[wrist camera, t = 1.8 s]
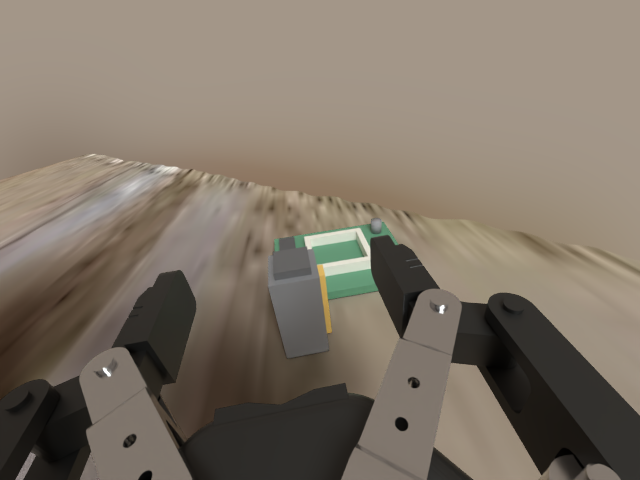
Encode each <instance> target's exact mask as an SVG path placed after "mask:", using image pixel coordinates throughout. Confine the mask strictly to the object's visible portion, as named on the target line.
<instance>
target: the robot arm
mask: <svg viewBox="0 0 640 480" xmlns="http://www.w3.org/2000/svg"><path fill="white" fill-rule="evenodd" d="M370 262H371V273H372V277H373V280H374V282H375V284H376V286H377V288H378V291H379V293H380V295H381V297H382V299H383V302H384V304H385V306H386V308H387V310H388V312H389V315H390V317H391V319H392V321H393V323H394V326H395V328H396V330H397V332H398V334H399V336H400V338H399V340H398V342H397V344H396V347H395V349H394V352H393V355H392V357H391V360H390V362H389V365H388V368H387V370H386V373H385V375H384V378H383V381H382V383H381V386H380V388H379V391H378V394H377V396H376V399H375V400H373V399H371V398H369V397H366V396H363V395H359V394H354V393H347V389H346V384H345V383H343V384H338V385H333V386H328V387H323V388H318V389H314V390H312V391H309V392H307V393H305V394H303V395H301V396H299V397H297V398H295V399H293V400H291V401H289V402H287V403H284V404H281V405H275V404H260V403H244V404H239V405H234V406H229V407H224V408H219V409H215V415H214V421H213V422H211V423H209V424H207V425H206V426H204V427H202V428H201V429H200V430H198V431H197V432H196V433H194V434H193V435H192V436H191V437H190V438H189V439H188V440H187V439H186V437H185V435H184V434H183V432H182V431H181V429H180V427H179V425H178V423H177V422H176V420H175V418H174V416H173V415H172V413H171V411H170V409H169V408H168V406H167V404H166V402H165V400H164V399H163V397H162V396H161V394H160V391H161V388H162V385H165V384H170V383H175V382H176V378H177V375H178V371H179V368H180V364H181V361H182V357H183V354H184V351H185V347H186V344H187V340H188V337H189V333H190V330H191V326H192V323H193V319H194V316H195V312H196V301H195V297H194V295H193V293H192V291H191V288H190V286H189V284H188V282H187V280H186V278H185V276H184V274H183V272H182V271H181V270H177V271H171V272H166V273H161V274H159V276H158V278H157V280H156V282H155V284H154V286H153V287H150V288H148V289H147V290H146V291H145V292H144V293H143V294H142V295H141V296H140V297H139V298H138V300H137V301H136V303H135V305H134V307H133V310H132V311H131V313H130V314H129V318H127V320H126V322H125V324H124V326H123V327H122V329H121V331H120V333H119V335H118V337H117V339H116V340H115V342H114V344H113V346H112V348H111V349H108V350H106V351H104V352H102V353H100V354H98V355H97V356H95V357H94V358H93V359H92V360H91V361H90V362H88V364H87V365H86V366H85V367H84V368H83V370H82V372H81V374H80V376H77V377H75V378H73V379H70V380H68V381H66V382H63V383H61V384H59V385H57V386H54V387H53V386H51V385H50V384H49V383H48V382H47V381H46V380H42V379H38V380H33V381H30V382H27V383H25V384H23V385H21V386H19V387H17V388H15V389H14V390H12V391H11V392H10V393H8V394H7V395H6V396H5V397H3V398H2V399H1V400H0V480H15V479H16V477H17V475H18V474H19V472H20V470H21V468H22V466H23V465H24V463H25V461H26V459H27V457H28V455H29V454H30V452H32V453H34V454H35V455H36V457H35V459H34V461H33V463H32V465H31V467H30V468H29V470H28V472H27V474H26V476H25V478H24V480H80V477H81V475H82V472H83V470H84V467H85V465H86V462H87V460H88V457H89V455H90V452H92V456H93V460H94V463H95V467H96V470H97V474H98V477H99V480H473V479H472V478H471V477H469V476H468V475H467V474H466V473H464V472H463V471H462V470H461V469H460V468H458V467H457V466H456V465H455V464H454V463H452V462H451V461H450V460H449V459H448V458H446V457H445V456H444V455H443V454H442V453H440V452H439V451H438V450H437V449H436V448H434V442H435V437H436V432H437V428H438V423H439V418H440V413H441V408H442V403H443V398H444V394H445V389H446V384H447V379H448V374H449V369H450V364H451V363H459V364H468V365H477V367H478V368H479V370H480V372H481V374H482V375H483V377H484V379H485V380H486V382H487V384H488V385H489V387H490V389H491V390H492V392H493V394H494V396H495V397H496V399H497V401H498V402H499V404H500V406H501V407H502V409H503V411H504V413H505V414H506V416H507V418H508V419H509V421H510V423H511V424H512V426H513V428H514V429H515V431H516V433H517V435H518V436H519V438H520V440H521V441H522V443H523V445H524V446H525V448H526V450H527V451H528V453H529V455H530V457H531V458H532V460H533V462H534V463H535V465H536V467H537V468H538V470H539V472H540V474H541V475H542V476H541V477H540V478H539V480H640V415H639V414H638V413H637V412H636V411H635V410H634V409H633V408H632V407H631V406H630V405H629V404H628V403H627V402H626V401H625V400H624V399H623V398H622V397H621V396H620V395H619V393H618V392H617V391H616V390H615V389H614V388H613V387H612V386H611V385H610V384H609V383H608V382H607V381H606V380H605V379H604V378H603V377H602V376H601V375H600V374H599V373H598V372H597V370H596V369H595V368H594V367H593V366H592V365H591V364H590V363H589V362H588V361H587V360H586V359H585V358H584V357H583V356H582V355H581V354H580V353H579V352H578V351H577V350H576V348H575V347H574V346H573V345H572V344H571V343H570V342H569V341H568V340H567V339H566V338H565V337H564V336H563V335H562V334H561V333H560V332H559V331H558V330H557V329H556V328H555V327H554V325H553V324H552V323H551V322H550V321H549V320H548V319H547V318H546V317H545V316H544V315H543V314H542V313H541V312H540V311H539V310H538V309H537V308H536V307H535V306H534V305H533V304H532V303H531V302H530V301H528V300H527V299H525V298H523V297H521V296H519V295H516V294H511V293H497V294H494V295H492V296H491V297H490V298H489V300H488V303H487V304H481V303H467V302H461V301H460V300H459V299H458V298H457V297H456V296H455V295H454V294H452V293H450V292H448V291H445V290H442V289H440V288H439V287H438V285H437V284H436V282H435V281H434V280H433V278H432V277H431V276H430V274H429V273H428V271H427V270H426V269H425V267H424V266H422V263H421V262H420V260H419V259H418V258H417V256H416V255H415V253H414V252H413V251H412V250H411V249H410V248H408V247H406V246H405V245H403V244H399V245H395V244H394V242H393V241H392V239H391V237H390V236H389V235H384V236H378V237H372V238H371V239H370Z"/></svg>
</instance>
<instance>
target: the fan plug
mask: <svg viewBox="0 0 640 480" xmlns="http://www.w3.org/2000/svg"><path fill="white" fill-rule="evenodd" d="M268 288H269V292H270V296H271V300H272V303H273V307H274V311H275V315H276V318H277V322H278V326H279V330H280V334H281V337H282V341H283V345H284V349H285V352H286V356H287V358H293V357H298V356H303V355H309V354H314V353H319V352H325V351H329V345H328V338H327V333H332V330H331V321H330V313H329V304H328V296H327V287H326V279H325V273H324V269H323V264H322V265H317V263H316V259H315V254H314V250H313V249H308V250H307V246H306V247H300V248H294V249H287V250H281V251H275V252H273V255H271V256H268Z"/></svg>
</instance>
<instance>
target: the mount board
mask: <svg viewBox="0 0 640 480" xmlns="http://www.w3.org/2000/svg"><path fill="white" fill-rule="evenodd" d="M384 235H389V236H390V237H391V239H392V241H393V242H394V244H395V245H398V243H397V242H396V240H395V239H394V237H393V236H392V234H391V232H390V231H389V229H388V228H387V226H386V225H385V223H384V222H382V220H381V219H380V218H373V219H371V224H367V225H361V226H354V227H348V228H342V229H336V230H330V231H323V232H317V233H311V234H305V235H299V236H292V237H286V238H280V239H275V251H281V250H287V249H294V248H300V247H306V246H307V250H308V249H313V250H314V254H315V259H316V263H317V265H322V264H323V269H324V273H325V279H326V287H327V296H328V299H334V298H340V297H345V296H351V295H357V294H362V293H368V292H374V291H378V288H377V286H376V284H375V282H374V280H373V277H372V273H371V262H370V239H371V238H372V237H378V236H384Z"/></svg>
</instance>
